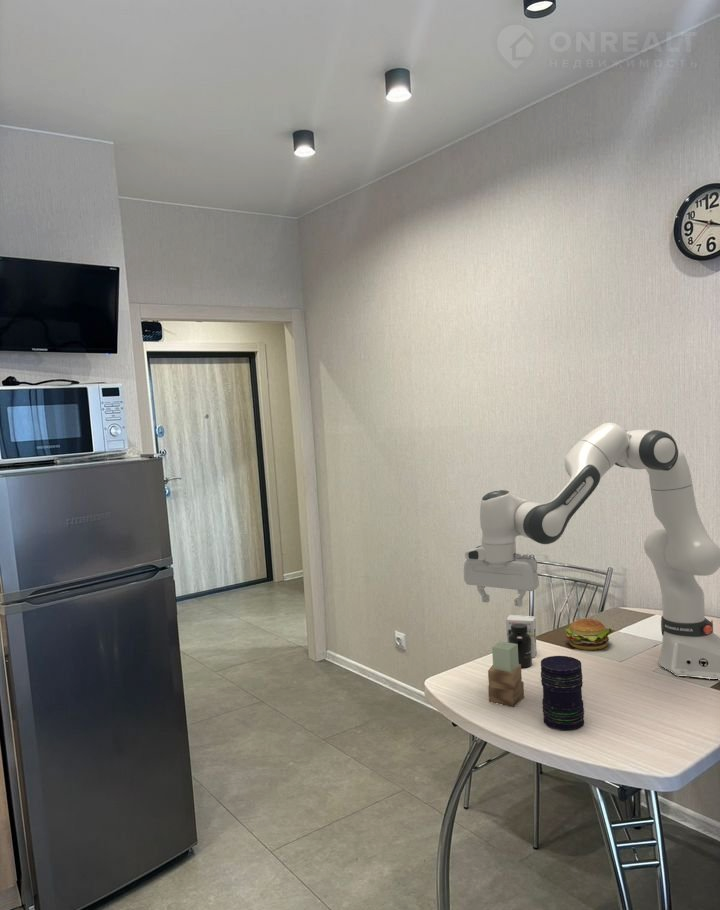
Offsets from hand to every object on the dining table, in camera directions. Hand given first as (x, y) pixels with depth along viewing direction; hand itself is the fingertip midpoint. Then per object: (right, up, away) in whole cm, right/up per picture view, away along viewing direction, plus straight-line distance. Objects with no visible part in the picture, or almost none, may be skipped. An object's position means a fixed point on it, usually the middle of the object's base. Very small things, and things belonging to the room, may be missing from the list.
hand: (501, 603), depth 185 cm
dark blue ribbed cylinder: (+13, -27, -13) cm, 32 cm away
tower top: (+1, -22, +2) cm, 22 cm away
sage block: (+1, -17, +1) cm, 17 cm away
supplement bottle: (+11, -24, +26) cm, 37 cm away
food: (+35, -22, +39) cm, 57 cm away
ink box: (+13, -23, +34) cm, 43 cm away
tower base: (+2, -26, +2) cm, 26 cm away
